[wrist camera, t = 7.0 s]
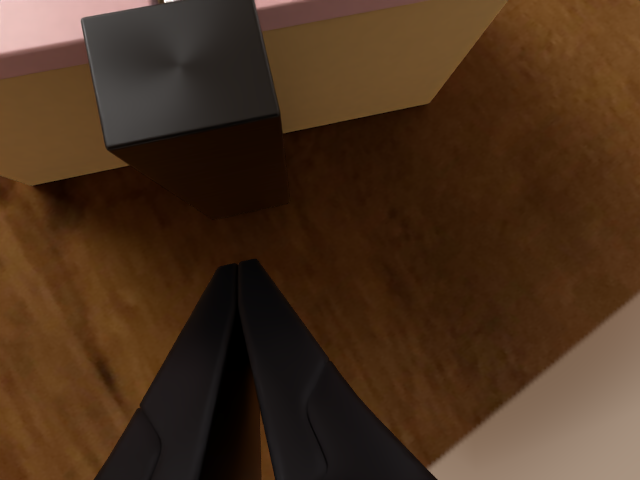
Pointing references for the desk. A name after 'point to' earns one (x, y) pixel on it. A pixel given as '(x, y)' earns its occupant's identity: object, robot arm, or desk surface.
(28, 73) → the loaf cake
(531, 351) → the desk surface
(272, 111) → the cake knife
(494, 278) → the desk surface
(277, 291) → the robot arm
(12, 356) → the desk surface
